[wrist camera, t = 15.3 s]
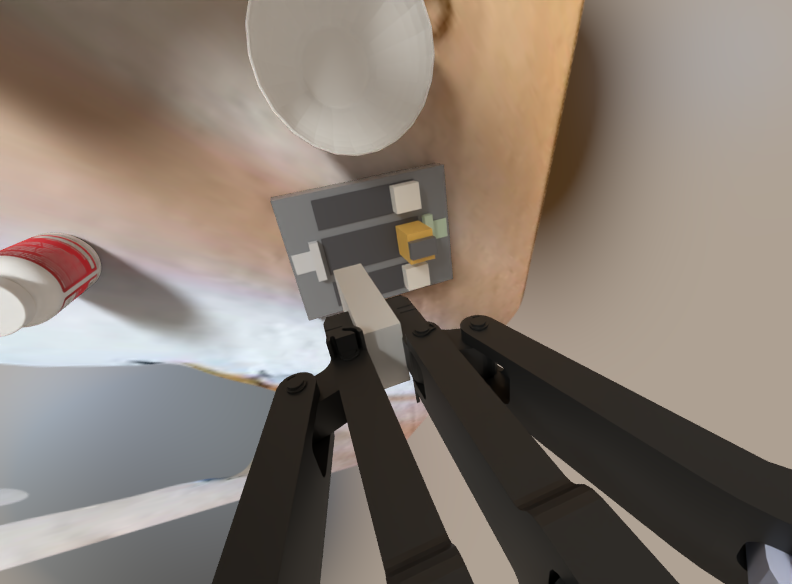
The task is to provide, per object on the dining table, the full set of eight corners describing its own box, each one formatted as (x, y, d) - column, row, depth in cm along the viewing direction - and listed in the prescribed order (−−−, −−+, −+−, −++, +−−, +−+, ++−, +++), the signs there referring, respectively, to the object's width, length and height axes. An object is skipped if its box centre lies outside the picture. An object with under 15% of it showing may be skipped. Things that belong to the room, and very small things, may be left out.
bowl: (424, 125, 39) (451, 123, 33) (296, 174, 37) (300, 181, 31) (381, -56, 31) (406, -101, 25) (215, -6, 29) (200, -43, 23)
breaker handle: (399, 253, 42) (413, 267, 38) (395, 226, 40) (409, 236, 36) (421, 247, 42) (438, 260, 38) (418, 220, 41) (435, 230, 36)
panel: (307, 311, 44) (310, 327, 41) (270, 197, 37) (270, 204, 34) (445, 272, 48) (458, 283, 45) (435, 163, 41) (450, 165, 38)
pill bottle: (24, 223, 32) (-85, 261, 22) (105, 239, 34) (38, 279, 25) (25, 283, 34) (-75, 341, 24) (102, 294, 36) (39, 351, 26)
